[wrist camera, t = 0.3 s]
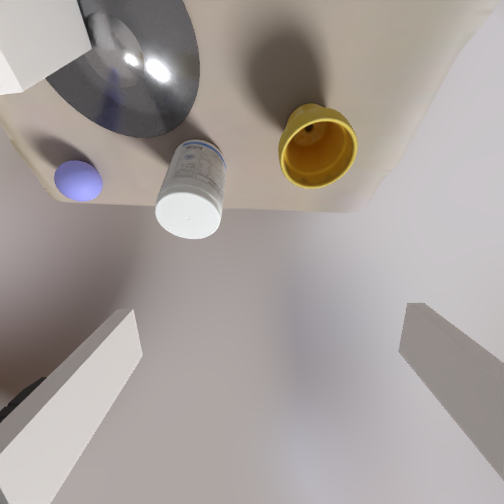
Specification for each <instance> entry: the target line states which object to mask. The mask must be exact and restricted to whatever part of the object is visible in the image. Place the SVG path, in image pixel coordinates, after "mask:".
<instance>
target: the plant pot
mask: <svg viewBox="0 0 504 504" xmlns="http://www.w3.org/2000/svg"><path fill="white" fill-rule="evenodd" d="M310 124H312V125H313V128H312V129H311V130H310V131H306V130H305V127H306V126H308V125H310ZM357 146H358V144H357V137H356V134H355V132H354V130H353V128H352V126H351V125H350V123H349V122H348V121H347V119H346V118H345V117H344V116H343V115H342V114H341V113H339V112H338V111H336V110H334V109H330V108H324V107H322V106H320V105H318V104H313V103H309V104H305V105H302V106H300V107H298V108H297V109H296V110H295V111H294V112H293V113H292V114H291V115H290V117H289V119H288V121H287V125H286V128H285V129H284V131H283V133H282V135H281V138H280V141H279V161H280V166H281V169H282V172H283V174H284V175H285V177H286V178H287V179H288V180H289V181H290V182H291V183H293V184H295V185H297V186H299V187H302V188H310V189H312V188H320V187H324V186H327V185H329V184H331V183H333V182H335V181H337V180H338V179H339V178H341V177H342V176H343V175H344V174H345V173H346V172H347V171H348V170H349V168H350V167H351V165H352V164H353V162H354V160H355V157H356V153H357Z"/></svg>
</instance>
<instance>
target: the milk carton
mask: <svg viewBox="0 0 504 504" xmlns="http://www.w3.org/2000/svg"><path fill="white" fill-rule="evenodd" d="M91 49H92V47H91V43H90V40H89V37H88V34H87V31H86V28H85V25H84V22H83V19H82V15H81V12H80V9H79V6H78V3H77V0H0V95H3V94H11V93H19V92H23V91H24V90H26V89H28V88H29V87H31V86H33V85H34V84H36V83H37V82H39V81H41V80H42V79H44V78H46V77H47V76H49V75H50V74H52V73H54V72H55V71H57V70H59V69H60V68H62V67H63V66H65V65H67V64H68V63H70V62H72V61H73V60H75V59H76V58H78V57H80V56H81V55H83V54H85V53H86V52H88V51H89V50H91Z"/></svg>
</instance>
